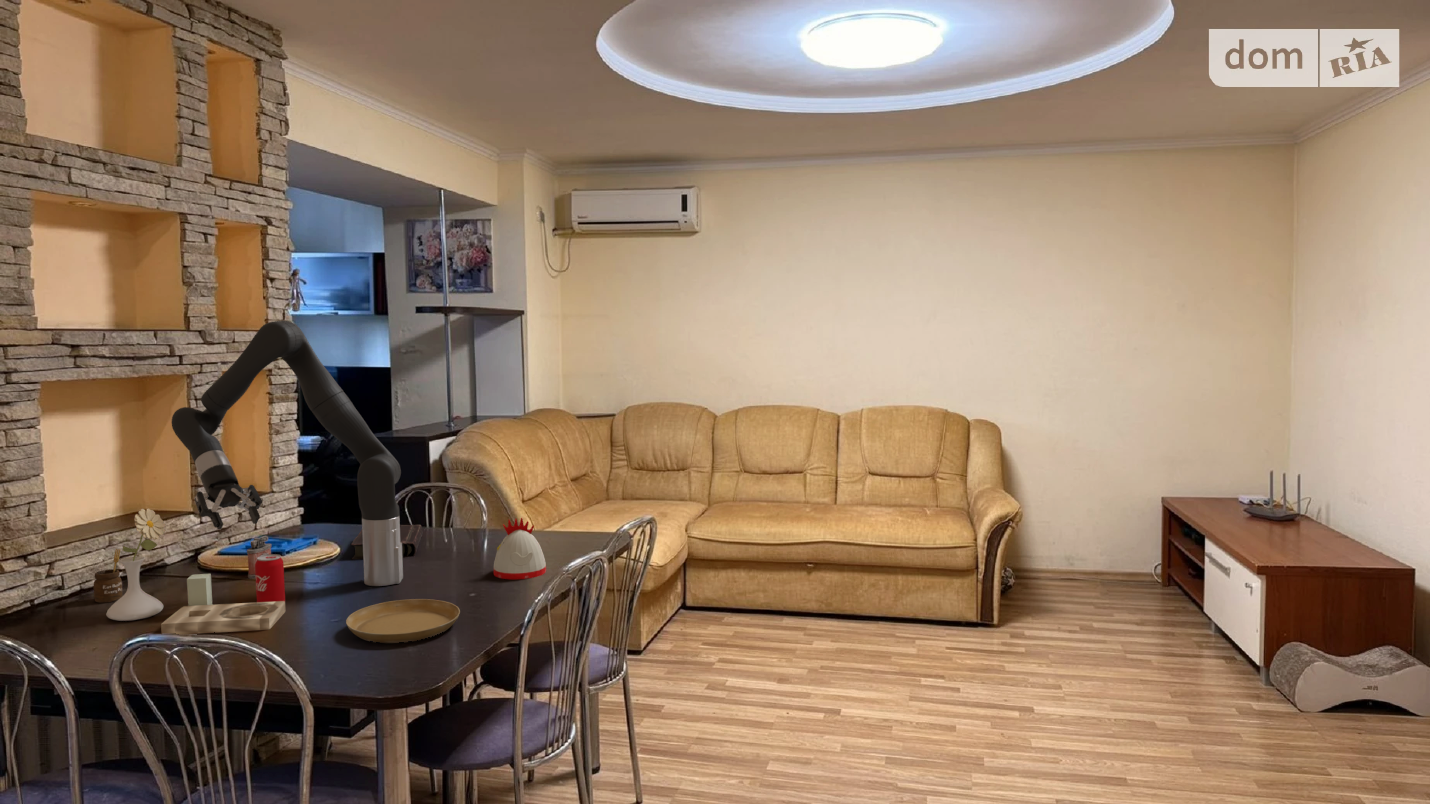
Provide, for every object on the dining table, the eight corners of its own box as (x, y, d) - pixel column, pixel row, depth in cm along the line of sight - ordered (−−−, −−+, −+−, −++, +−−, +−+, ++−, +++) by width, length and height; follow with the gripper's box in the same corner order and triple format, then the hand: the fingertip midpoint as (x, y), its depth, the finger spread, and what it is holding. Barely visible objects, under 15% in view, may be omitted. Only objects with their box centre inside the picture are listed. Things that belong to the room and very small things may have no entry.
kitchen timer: (491, 568, 265) (490, 514, 264) (541, 564, 269) (541, 511, 268) (496, 581, 252) (495, 525, 251) (549, 576, 256) (548, 521, 255)
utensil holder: (88, 601, 235) (85, 553, 234) (112, 594, 241) (110, 547, 240) (105, 604, 233) (102, 555, 232) (129, 597, 239) (126, 549, 238)
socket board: (285, 613, 225) (284, 600, 225) (269, 631, 213) (269, 618, 212) (184, 618, 222) (183, 606, 221) (161, 637, 209) (161, 623, 209)
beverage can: (262, 602, 234) (260, 554, 233) (289, 601, 235) (287, 553, 234) (252, 610, 228) (250, 560, 227) (279, 609, 228) (277, 559, 227)
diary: (423, 539, 304) (422, 523, 303) (416, 558, 279) (416, 541, 279) (360, 541, 300) (360, 525, 299) (348, 561, 275) (347, 544, 275)
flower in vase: (122, 628, 215) (116, 518, 213) (96, 620, 221) (90, 512, 219) (181, 613, 226) (175, 508, 224) (154, 605, 232) (148, 503, 230)
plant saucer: (462, 641, 206) (461, 626, 206) (342, 653, 200) (341, 637, 199) (458, 608, 229) (458, 595, 229) (350, 618, 223) (350, 604, 222)
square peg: (212, 610, 228) (210, 573, 227) (207, 616, 224) (205, 578, 223) (194, 612, 227) (192, 574, 226) (188, 617, 223) (186, 579, 222)
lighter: (256, 578, 256) (254, 541, 255) (244, 578, 256) (243, 541, 255) (275, 570, 263) (274, 534, 263) (264, 570, 264) (263, 534, 263)
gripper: (190, 466, 233) (213, 519, 227) (249, 460, 244) (272, 510, 238) (181, 485, 237) (204, 538, 231) (240, 478, 248) (263, 528, 242)
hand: (238, 524), depth 234 cm, fingers open, 8 cm apart
